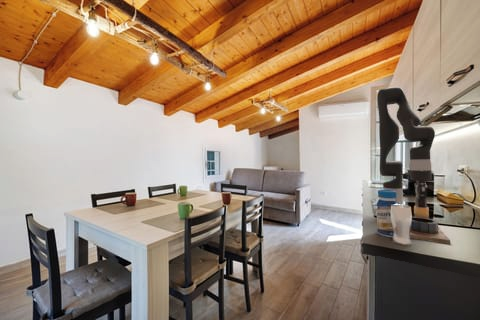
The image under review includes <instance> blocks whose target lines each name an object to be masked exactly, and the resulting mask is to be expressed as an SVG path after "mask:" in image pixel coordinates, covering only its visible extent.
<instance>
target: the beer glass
mask: <svg viewBox="0 0 480 320" xmlns="http://www.w3.org/2000/svg"><path fill="white" fill-rule="evenodd" d="M412 214H413V213H412V206H410V205H407V204H403V205H401V204H392V205H391V208H390V218H391V223H392V227H393V237H391V238H392V239H391V240H392V242H393V243H395V244H397V245H403V246H410V245H412V241H411V238H410V228H411V223H412V217H413V215H412Z"/></svg>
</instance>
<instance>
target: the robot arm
mask: <svg viewBox="0 0 480 320" xmlns="http://www.w3.org/2000/svg"><path fill="white" fill-rule="evenodd" d="M376 95H377V97H376V99H377V108H378V109H377V111H378V120H379V122H378V124H379V129H378V132H379V148H380V149H379V153H380V154H379V173H380V175H381V176H382V177H395V178H393V179H391V180H388V181H385V182H382V183H383V184H382V190H393V191H396V199H395V201H396V202H397V203H398V204H401V205H404V192H403V191H404V190H403V189H404V188H403V172H404V171H403V162H402V161H401V160H387V158H388V156H389V154H390V152H391V151H392V149H393V148H394V147H395V146H396V145H397V143H398V141H399V139H400V127H399V125H398V123H397V122H396V120H395V119H394V118H393V117H392V116H391V115H390V113H389V109H388V105H389V106H391V105H395V104H396V105H398V109H397V111H396V119H397V121H398V122H399V124H400V125H401V127H402V131H403V137H404V139H405V140H407V141H408V142H410V143H411V142H412V143H413V142H414V143H415V142H416V143H417V142H419V144H418V146H413V147H411V148H410V149H409V164H408V167H409V180H413V181H414V180H415V183H414V191H415V196H416V197H418V206H419V207H421V208H425V199H426V198H427V194H428V184H427V183H426V181H432V178H433V177H432V161H431V148H432V145H433V143H434V141H435V140H434V139H435V137H436V133H435V129H434V128H433V127H432V126H430V125H421V119H420V117H419V115H417V113H415V111H414V110H413V109H412V107H411V105H410V102H409V100H408V98H407V96H406V93H405V92H404V90H403V88H402V87H400V86H392V87H386V88H381V89H379V90H378V92H377V94H376ZM419 125H421V126H419Z"/></svg>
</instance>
